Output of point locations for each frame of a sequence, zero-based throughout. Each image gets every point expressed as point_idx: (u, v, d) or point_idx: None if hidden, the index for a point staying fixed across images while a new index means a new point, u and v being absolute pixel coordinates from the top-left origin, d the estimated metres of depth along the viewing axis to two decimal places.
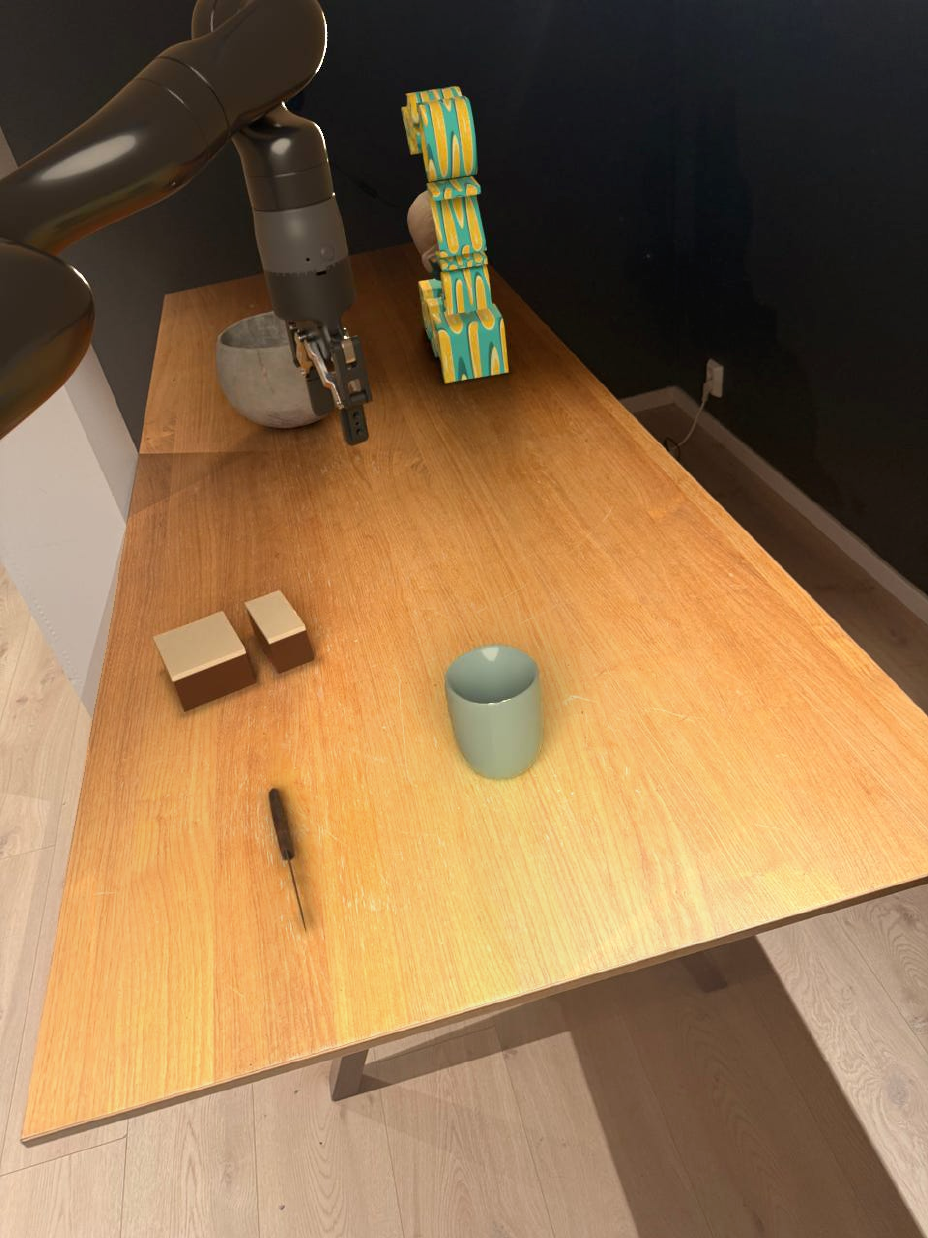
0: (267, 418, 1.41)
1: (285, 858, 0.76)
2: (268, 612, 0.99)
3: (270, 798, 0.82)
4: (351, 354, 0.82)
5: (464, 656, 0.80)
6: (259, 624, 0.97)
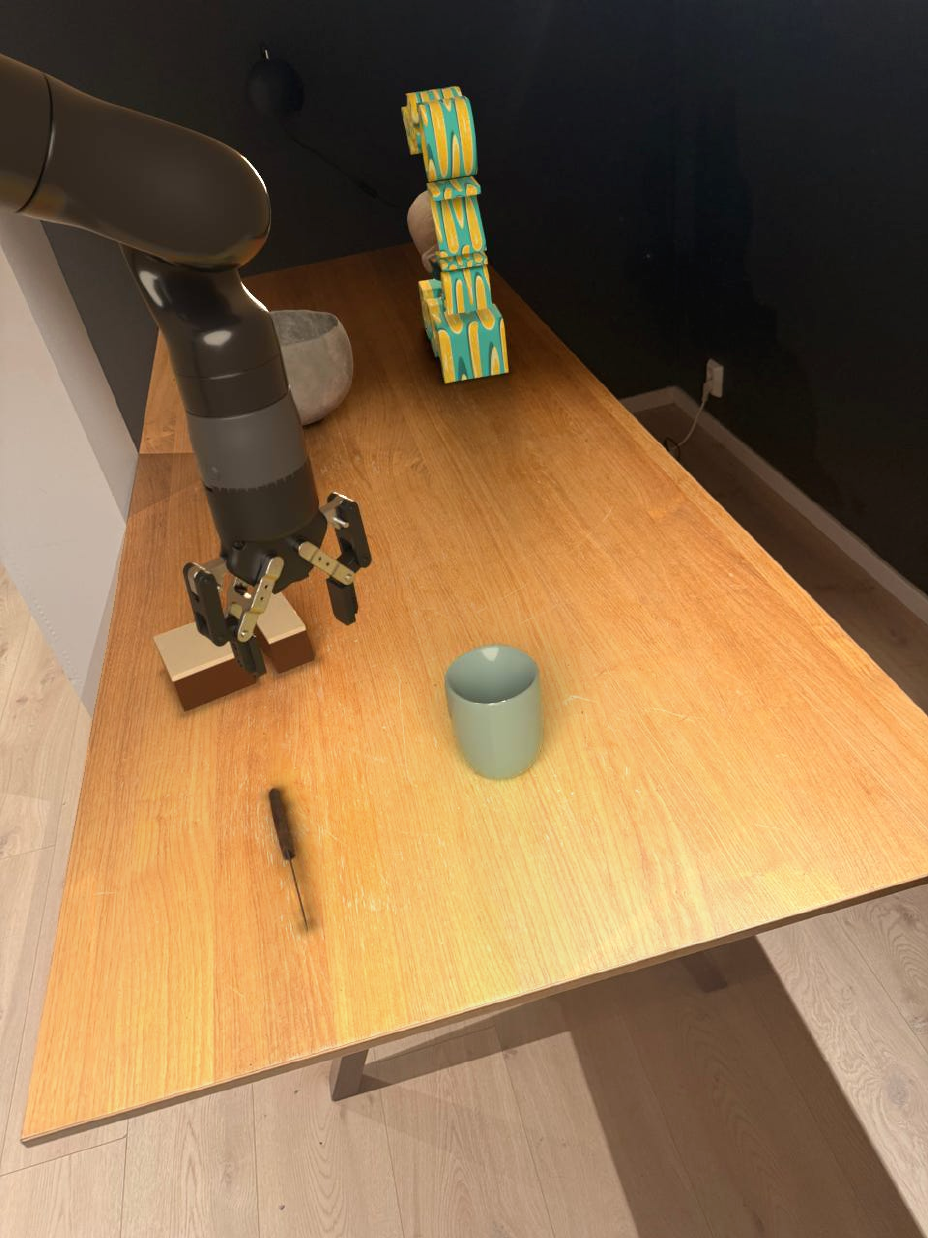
0: None
1: (286, 858, 0.76)
2: (268, 612, 0.99)
3: (270, 798, 0.82)
4: (194, 587, 0.66)
5: (464, 656, 0.80)
6: (259, 624, 0.97)
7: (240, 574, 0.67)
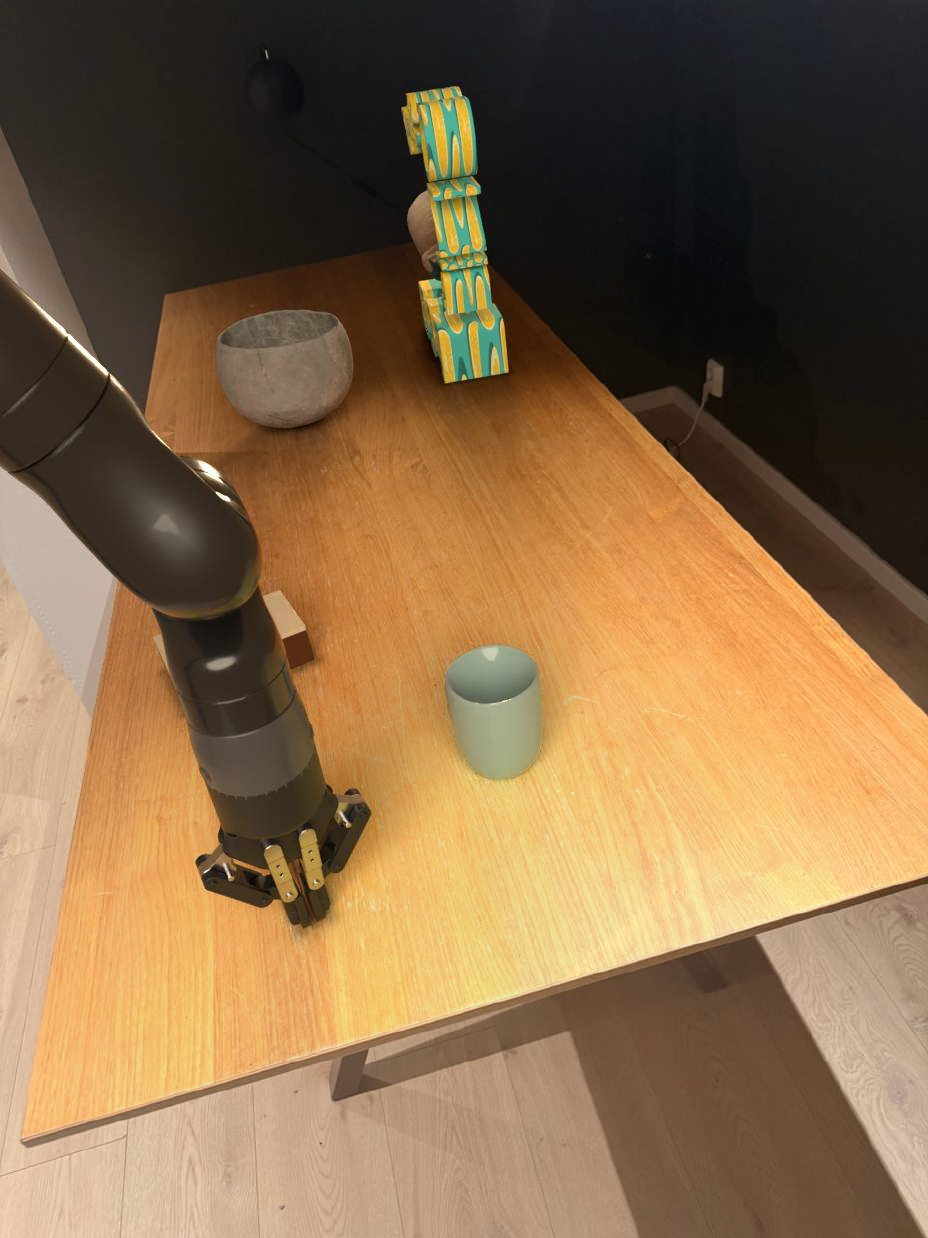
0: (267, 418, 1.41)
1: None
2: None
3: None
4: None
5: (464, 656, 0.80)
6: None
7: (234, 857, 0.65)
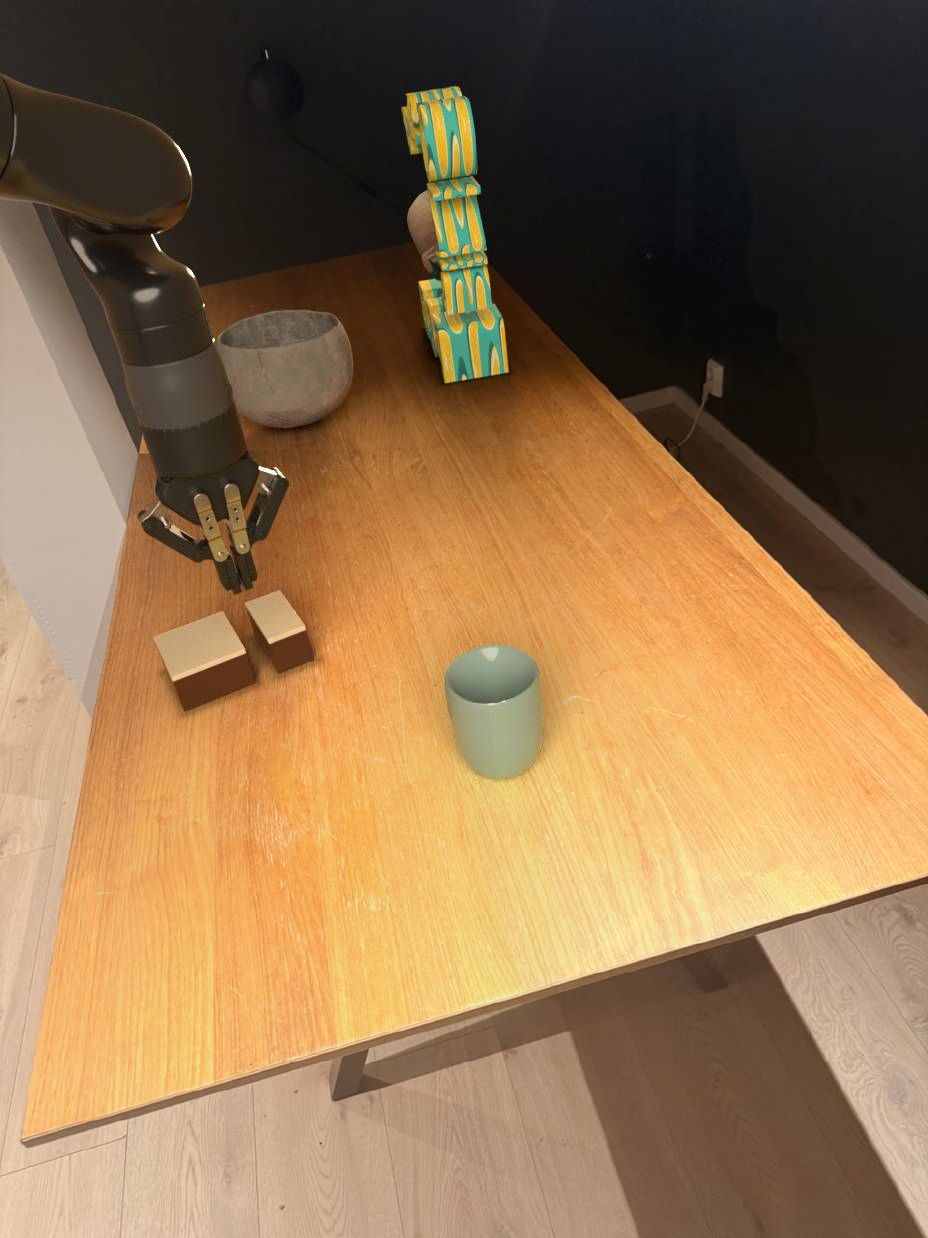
0: (267, 418, 1.41)
1: None
2: (268, 612, 0.99)
3: None
4: None
5: (464, 656, 0.80)
6: (259, 624, 0.97)
7: (168, 505, 0.76)
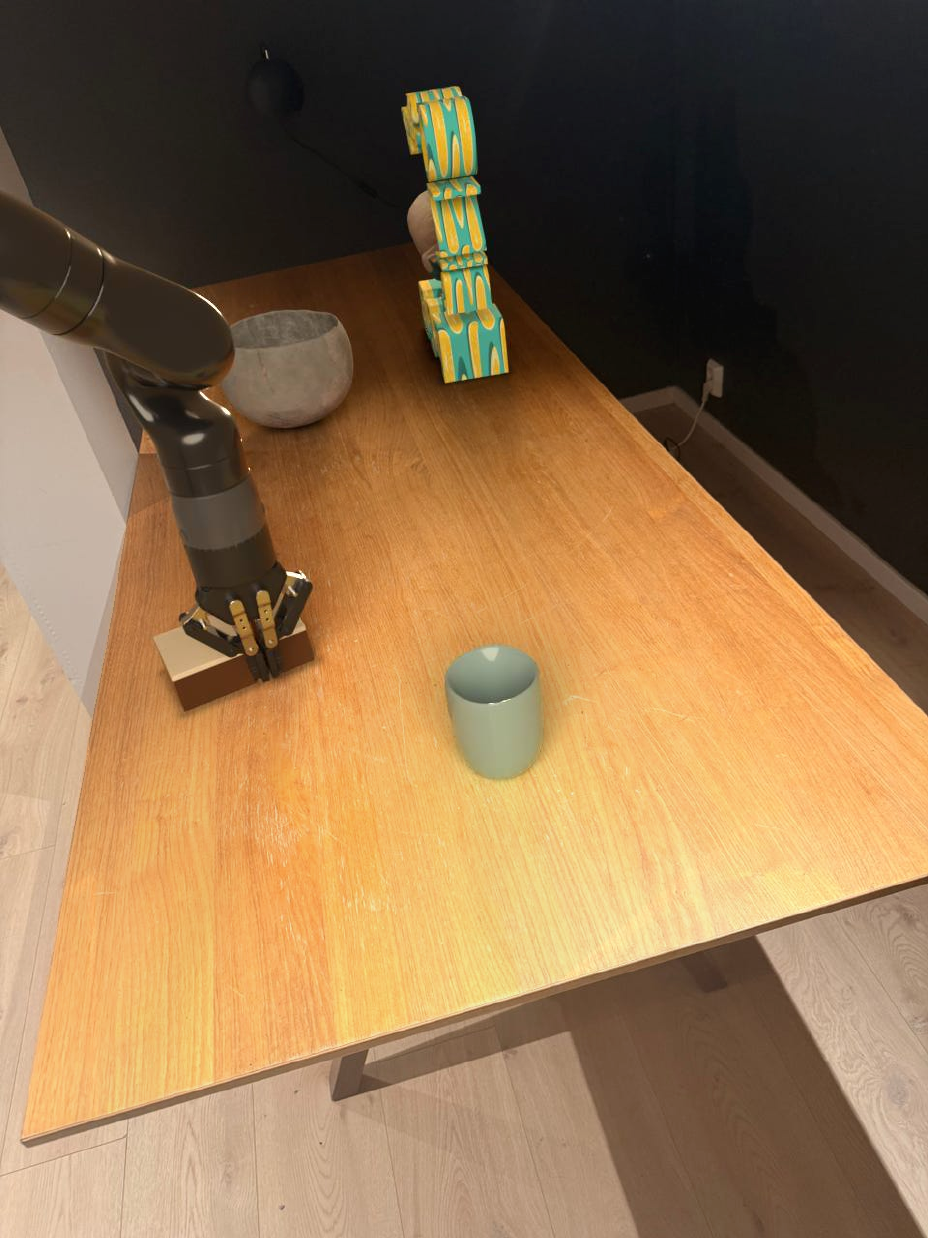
0: (267, 418, 1.41)
1: None
2: None
3: None
4: None
5: (464, 656, 0.80)
6: None
7: (207, 610, 0.86)
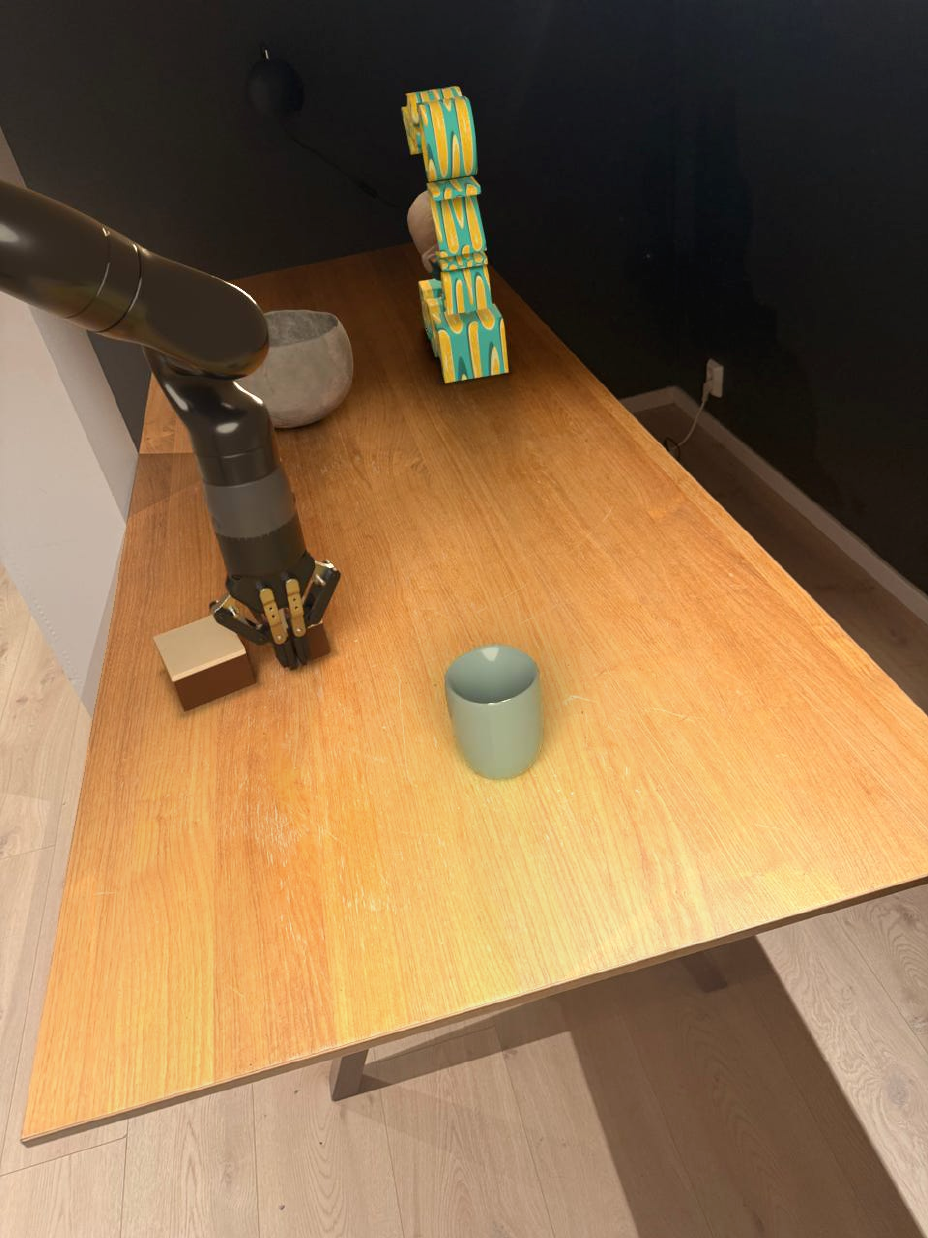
0: None
1: None
2: None
3: None
4: None
5: (464, 656, 0.80)
6: None
7: (237, 598, 0.87)
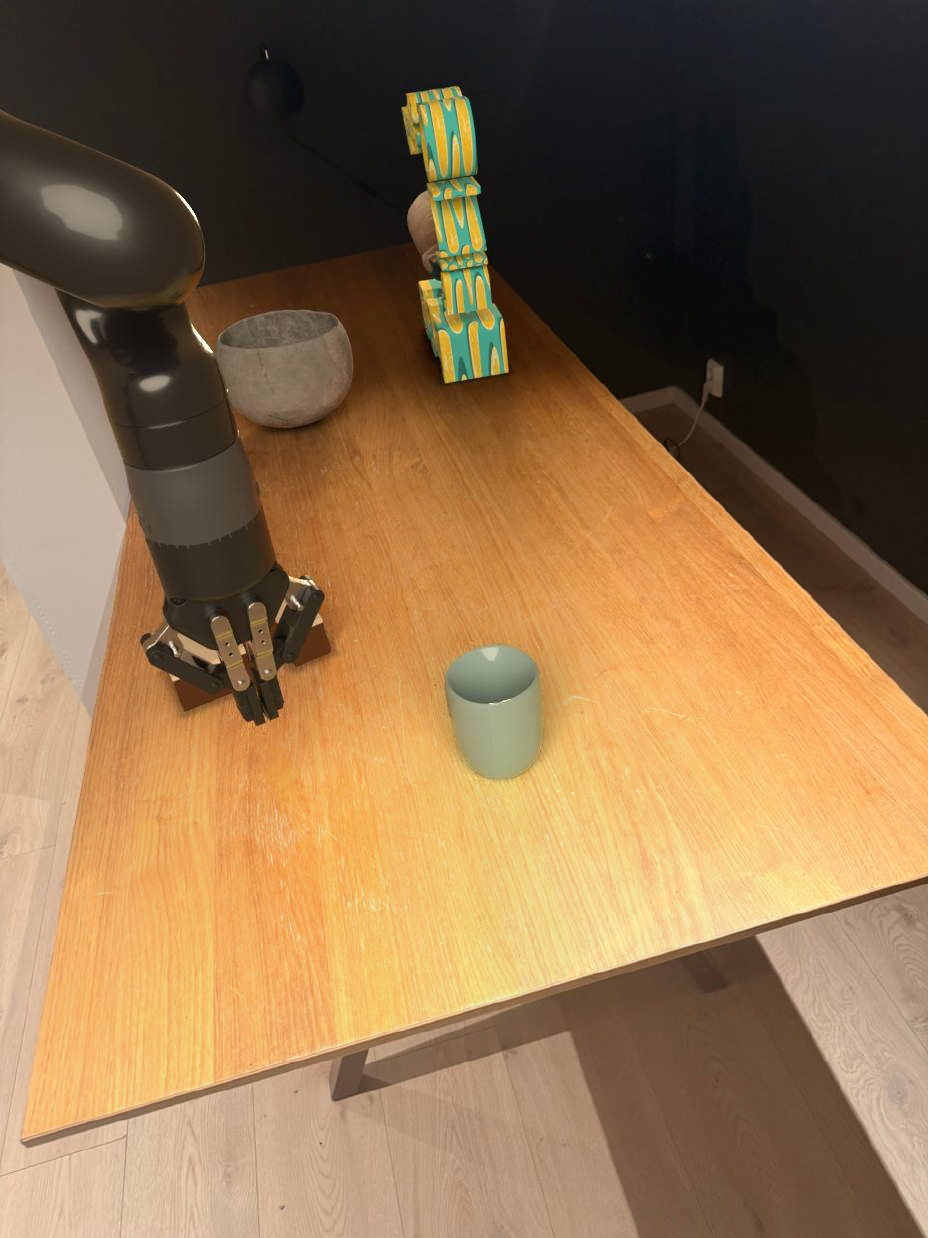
0: (267, 418, 1.41)
1: None
2: (284, 606, 0.99)
3: None
4: None
5: (464, 656, 0.80)
6: (276, 617, 0.98)
7: (179, 630, 0.62)
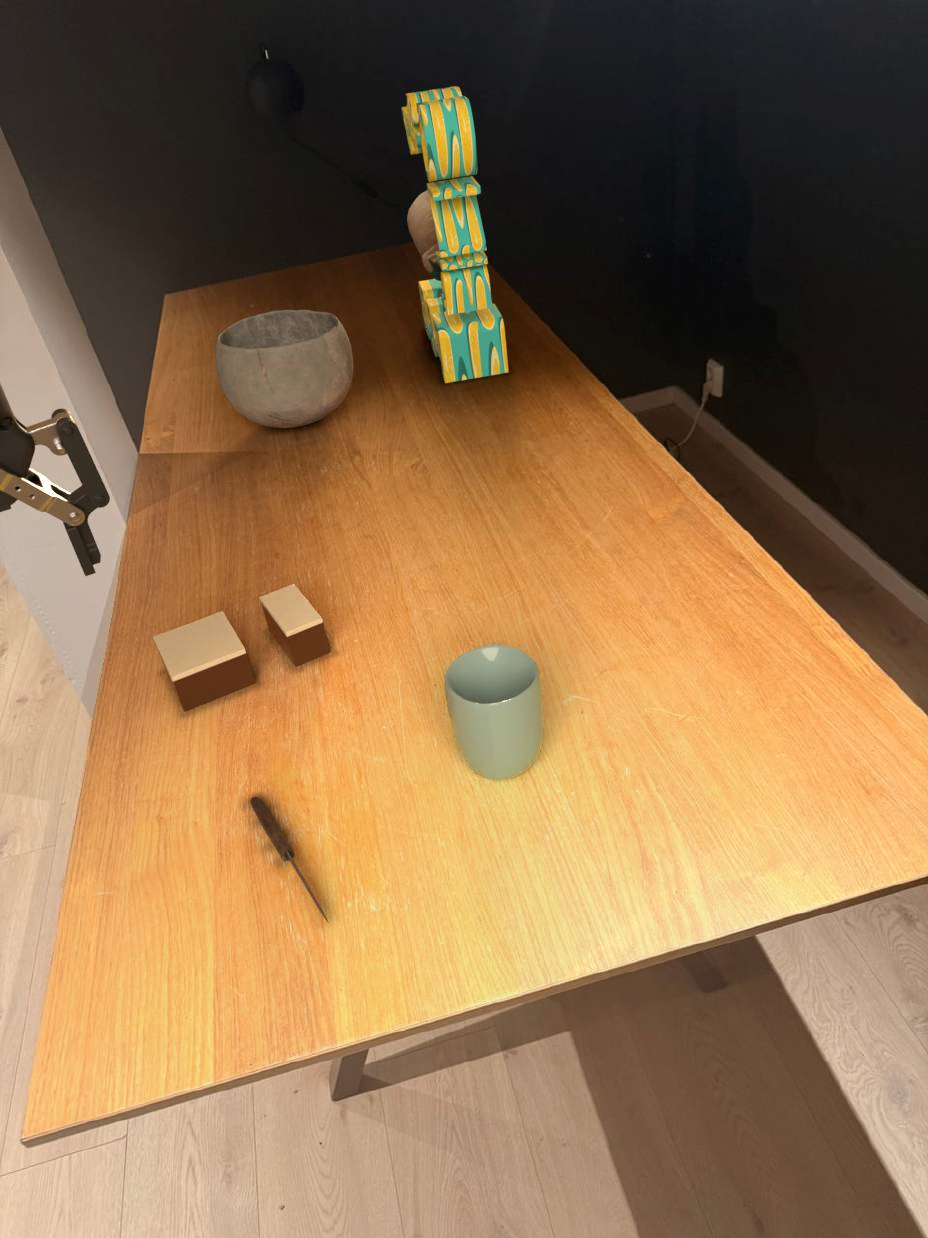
0: (267, 418, 1.41)
1: (286, 859, 0.76)
2: (284, 606, 0.99)
3: (254, 806, 0.81)
4: None
5: (464, 656, 0.80)
6: (276, 617, 0.98)
7: None
